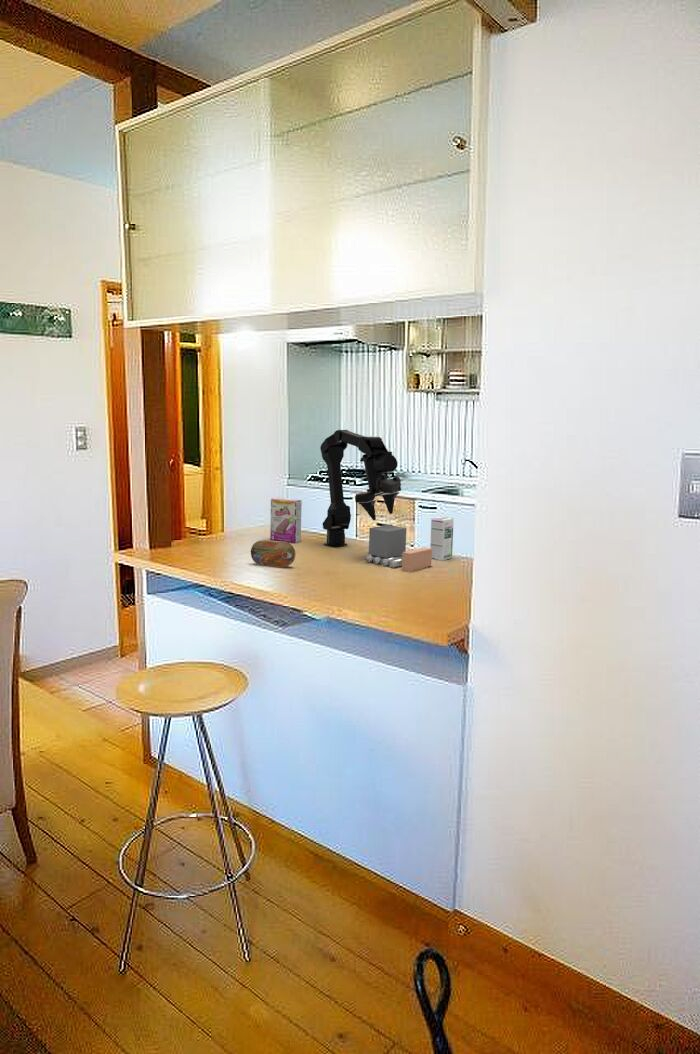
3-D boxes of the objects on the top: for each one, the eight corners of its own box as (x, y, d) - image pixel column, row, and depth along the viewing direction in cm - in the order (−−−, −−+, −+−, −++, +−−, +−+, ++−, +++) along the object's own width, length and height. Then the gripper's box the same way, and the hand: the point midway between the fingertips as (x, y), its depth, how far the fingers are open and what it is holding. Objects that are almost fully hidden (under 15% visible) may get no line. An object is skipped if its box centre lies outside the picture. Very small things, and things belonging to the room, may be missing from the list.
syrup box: (442, 560, 245) (445, 519, 242) (429, 558, 249) (431, 517, 246) (452, 558, 249) (454, 518, 246) (438, 555, 253) (440, 515, 250)
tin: (250, 564, 231) (250, 539, 230) (254, 562, 234) (254, 537, 233) (292, 568, 227) (293, 543, 226) (296, 566, 230) (296, 541, 229)
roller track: (364, 561, 240) (365, 555, 239) (387, 556, 248) (387, 550, 248) (394, 568, 231) (394, 561, 231) (416, 563, 240) (416, 556, 239)
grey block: (368, 554, 239) (369, 528, 238) (387, 550, 247) (388, 524, 245) (386, 557, 234) (387, 531, 233) (405, 553, 241) (406, 528, 240)
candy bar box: (269, 540, 272) (269, 498, 269) (275, 538, 276) (276, 497, 273) (295, 543, 268) (296, 500, 265) (301, 541, 272) (302, 499, 269)
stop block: (401, 570, 229) (402, 552, 228) (423, 564, 238) (424, 547, 237) (409, 571, 227) (410, 553, 226) (431, 566, 236) (432, 548, 235)
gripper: (374, 476, 231) (383, 522, 234) (408, 465, 244) (417, 509, 247) (349, 479, 239) (358, 523, 241) (384, 468, 252) (392, 511, 254)
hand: (382, 516), depth 246 cm, fingers open, 9 cm apart
